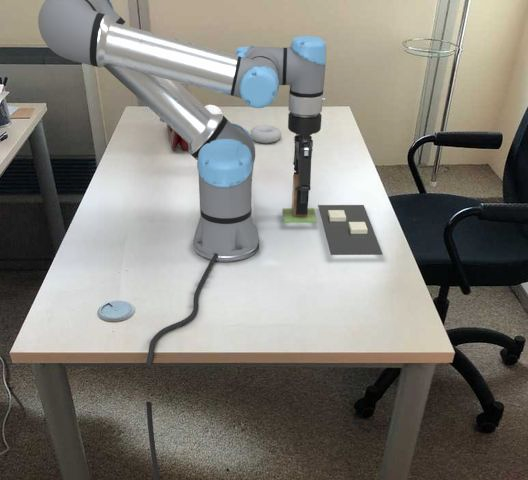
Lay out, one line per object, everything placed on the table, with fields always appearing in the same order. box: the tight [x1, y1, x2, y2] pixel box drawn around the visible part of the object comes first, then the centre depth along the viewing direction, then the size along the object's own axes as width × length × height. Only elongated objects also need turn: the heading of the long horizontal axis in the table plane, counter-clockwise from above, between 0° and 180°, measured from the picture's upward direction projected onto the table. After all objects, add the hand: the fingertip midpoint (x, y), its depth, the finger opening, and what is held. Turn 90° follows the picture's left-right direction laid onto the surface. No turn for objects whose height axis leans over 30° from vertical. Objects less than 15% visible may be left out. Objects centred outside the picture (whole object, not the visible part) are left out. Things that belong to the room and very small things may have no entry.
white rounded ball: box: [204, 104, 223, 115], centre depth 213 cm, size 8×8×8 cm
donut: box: [249, 124, 282, 144], centre depth 208 cm, size 10×4×10 cm
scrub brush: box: [281, 173, 318, 224], centre depth 159 cm, size 6×8×12 cm
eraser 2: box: [348, 222, 368, 234], centre depth 156 cm, size 4×4×1 cm
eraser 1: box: [328, 210, 346, 221], centre depth 161 cm, size 4×4×1 cm
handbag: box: [166, 82, 192, 151], centre depth 202 cm, size 28×11×17 cm, turn 11°
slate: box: [317, 204, 384, 256], centre depth 158 cm, size 26×12×2 cm, turn 3°
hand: (299, 205), depth 160 cm, fingers open, 9 cm apart
